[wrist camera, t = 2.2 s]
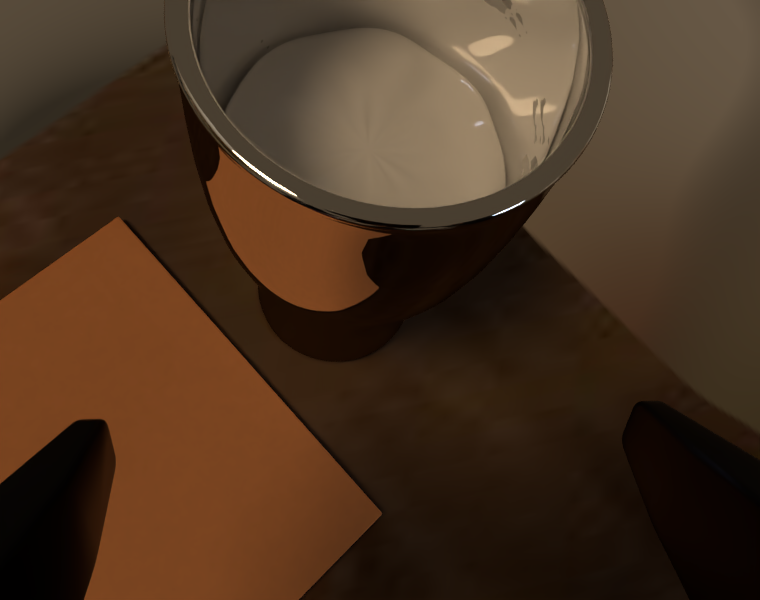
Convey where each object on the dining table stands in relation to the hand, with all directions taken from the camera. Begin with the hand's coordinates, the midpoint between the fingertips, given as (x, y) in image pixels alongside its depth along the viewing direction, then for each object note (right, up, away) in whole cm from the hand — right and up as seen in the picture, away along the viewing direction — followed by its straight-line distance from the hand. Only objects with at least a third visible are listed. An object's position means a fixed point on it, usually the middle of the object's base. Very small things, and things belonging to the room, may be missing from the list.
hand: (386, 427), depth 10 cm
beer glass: (-2, +3, +13) cm, 14 cm away
